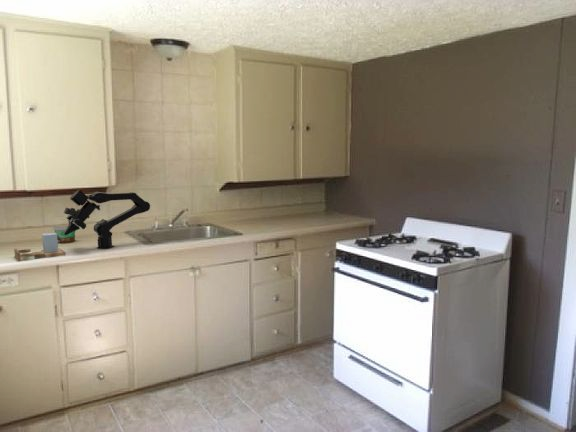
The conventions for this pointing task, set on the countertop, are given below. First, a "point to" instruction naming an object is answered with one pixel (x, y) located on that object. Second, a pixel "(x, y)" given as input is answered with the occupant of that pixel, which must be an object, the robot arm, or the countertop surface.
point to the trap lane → (35, 254)
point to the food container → (64, 234)
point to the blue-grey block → (50, 242)
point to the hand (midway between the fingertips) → (64, 234)
